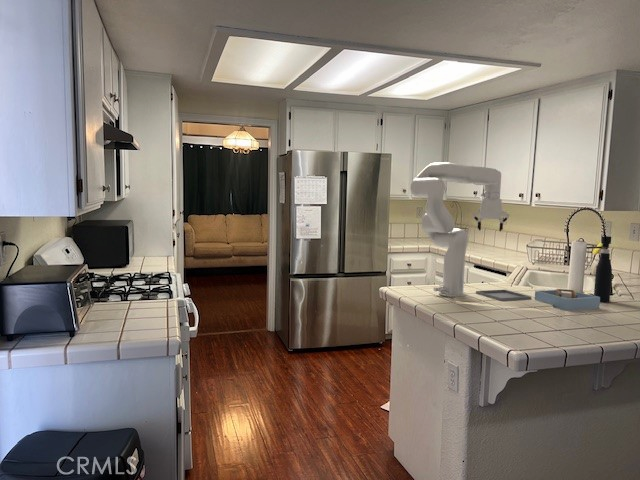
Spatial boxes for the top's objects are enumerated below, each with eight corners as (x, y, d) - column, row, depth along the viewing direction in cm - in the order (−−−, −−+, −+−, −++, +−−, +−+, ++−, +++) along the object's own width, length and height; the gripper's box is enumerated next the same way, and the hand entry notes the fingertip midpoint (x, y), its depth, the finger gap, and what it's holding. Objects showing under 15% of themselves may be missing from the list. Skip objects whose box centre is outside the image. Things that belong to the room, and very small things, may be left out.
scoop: (558, 304, 207) (559, 293, 207) (555, 299, 219) (556, 288, 218) (576, 306, 205) (577, 294, 204) (573, 301, 216) (573, 290, 216)
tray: (500, 303, 212) (501, 298, 212) (475, 295, 228) (475, 290, 228) (531, 301, 218) (531, 296, 218) (504, 294, 234) (504, 289, 234)
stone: (561, 301, 211) (561, 292, 211) (560, 299, 215) (560, 290, 215) (571, 302, 210) (571, 293, 210) (570, 300, 214) (570, 291, 213)
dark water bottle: (593, 301, 222) (598, 236, 220) (593, 299, 228) (598, 235, 225) (609, 303, 219) (615, 237, 217) (609, 300, 225) (614, 236, 222)
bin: (567, 310, 200) (568, 299, 200) (534, 301, 217) (535, 290, 217) (599, 308, 207) (600, 297, 206) (564, 299, 223) (565, 289, 223)
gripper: (472, 195, 237) (471, 230, 239) (510, 196, 231) (508, 232, 232) (474, 195, 244) (472, 229, 245) (510, 196, 238) (508, 231, 239)
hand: (489, 230), depth 239 cm, fingers open, 9 cm apart
